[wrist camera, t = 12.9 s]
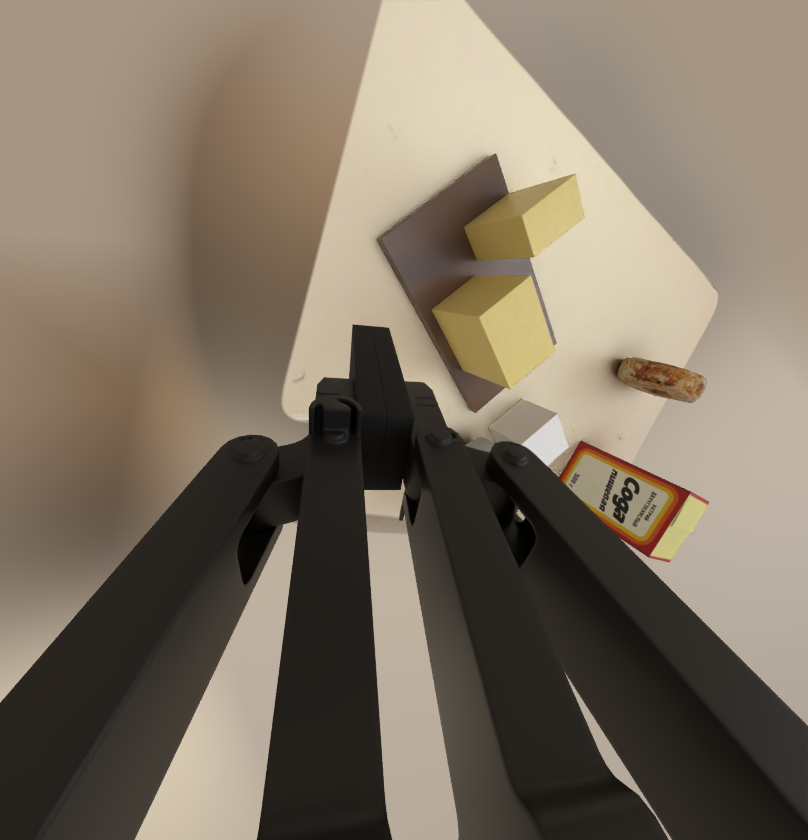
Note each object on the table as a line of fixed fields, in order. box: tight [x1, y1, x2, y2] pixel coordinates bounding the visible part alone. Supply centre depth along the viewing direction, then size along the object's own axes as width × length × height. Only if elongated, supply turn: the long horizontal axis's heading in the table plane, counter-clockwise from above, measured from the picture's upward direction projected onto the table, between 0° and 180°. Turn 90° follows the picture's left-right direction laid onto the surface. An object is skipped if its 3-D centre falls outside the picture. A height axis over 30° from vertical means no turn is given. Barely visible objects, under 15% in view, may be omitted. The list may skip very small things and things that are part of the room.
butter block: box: [432, 275, 555, 389], centre depth 34 cm, size 8×6×8 cm
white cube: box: [489, 399, 568, 466], centre depth 45 cm, size 6×6×6 cm
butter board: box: [377, 154, 556, 413], centre depth 38 cm, size 22×14×1 cm, turn 32°
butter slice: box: [464, 174, 584, 261], centre depth 32 cm, size 4×6×8 cm, turn 122°
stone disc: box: [618, 357, 706, 403], centre depth 50 cm, size 10×4×10 cm, turn 64°
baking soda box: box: [560, 441, 709, 562], centre depth 51 cm, size 10×6×16 cm
